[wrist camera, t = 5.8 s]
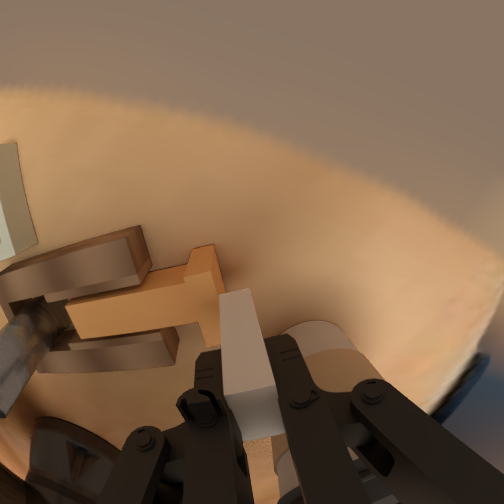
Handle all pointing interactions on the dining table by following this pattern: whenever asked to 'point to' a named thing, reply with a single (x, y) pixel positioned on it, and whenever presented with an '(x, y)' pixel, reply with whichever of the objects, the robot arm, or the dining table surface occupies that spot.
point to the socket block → (84, 283)
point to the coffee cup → (332, 380)
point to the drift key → (157, 301)
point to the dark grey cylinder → (28, 345)
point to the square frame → (13, 206)
